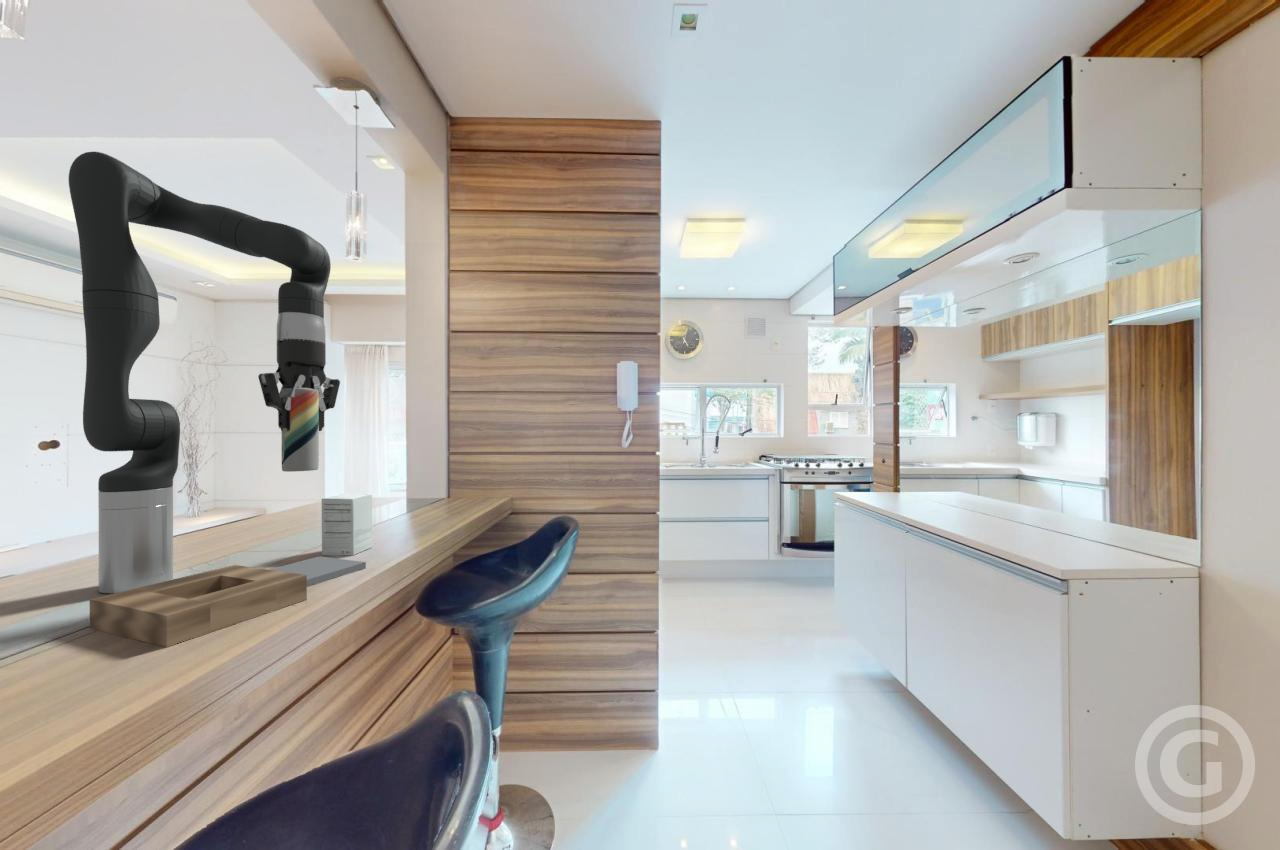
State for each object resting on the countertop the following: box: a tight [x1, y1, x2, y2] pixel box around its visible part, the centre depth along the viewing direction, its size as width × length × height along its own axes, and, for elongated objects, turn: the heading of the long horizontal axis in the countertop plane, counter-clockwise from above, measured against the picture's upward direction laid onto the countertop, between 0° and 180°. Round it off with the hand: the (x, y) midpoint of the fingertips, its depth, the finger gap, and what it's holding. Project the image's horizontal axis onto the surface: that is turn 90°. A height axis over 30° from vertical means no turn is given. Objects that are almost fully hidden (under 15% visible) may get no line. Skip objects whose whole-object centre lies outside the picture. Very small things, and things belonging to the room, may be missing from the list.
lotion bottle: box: [281, 365, 320, 473], centre depth 91 cm, size 6×6×20 cm
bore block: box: [89, 564, 308, 648], centre depth 73 cm, size 18×18×4 cm
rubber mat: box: [268, 556, 367, 587], centre depth 93 cm, size 13×13×1 cm
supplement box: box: [321, 493, 373, 556], centre depth 110 cm, size 7×7×13 cm
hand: (302, 430), depth 91 cm, fingers closed on lotion bottle, 5 cm apart
